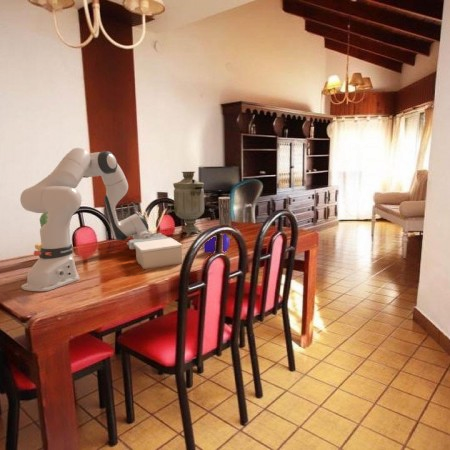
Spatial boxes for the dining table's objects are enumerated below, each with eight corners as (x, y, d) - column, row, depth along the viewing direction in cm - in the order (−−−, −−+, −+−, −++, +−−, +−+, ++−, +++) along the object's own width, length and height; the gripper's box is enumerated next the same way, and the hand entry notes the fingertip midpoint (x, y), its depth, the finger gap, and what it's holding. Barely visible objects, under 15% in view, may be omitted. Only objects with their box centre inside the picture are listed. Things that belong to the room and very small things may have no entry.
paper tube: (231, 237, 221) (230, 196, 217) (230, 240, 214) (229, 198, 210) (220, 237, 222) (219, 197, 217) (219, 240, 215) (217, 198, 211)
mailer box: (182, 263, 170) (181, 247, 169) (144, 269, 162) (143, 252, 161) (172, 256, 183) (171, 241, 182) (136, 261, 176) (135, 245, 174)
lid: (182, 246, 169) (182, 244, 169) (141, 252, 161) (141, 250, 161) (170, 239, 186) (170, 237, 186) (132, 244, 178) (132, 241, 177)
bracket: (223, 254, 185) (222, 231, 183) (204, 252, 189) (203, 230, 187) (236, 245, 201) (235, 224, 199) (218, 244, 205) (217, 224, 203)
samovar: (163, 230, 249) (159, 172, 241) (200, 227, 256) (197, 170, 249) (170, 239, 221) (166, 173, 213) (211, 235, 228) (209, 171, 221)
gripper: (125, 236, 188) (130, 242, 176) (163, 232, 197) (171, 236, 185) (126, 248, 189) (131, 254, 177) (164, 243, 198) (172, 249, 186)
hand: (152, 245), depth 181 cm, fingers closed
